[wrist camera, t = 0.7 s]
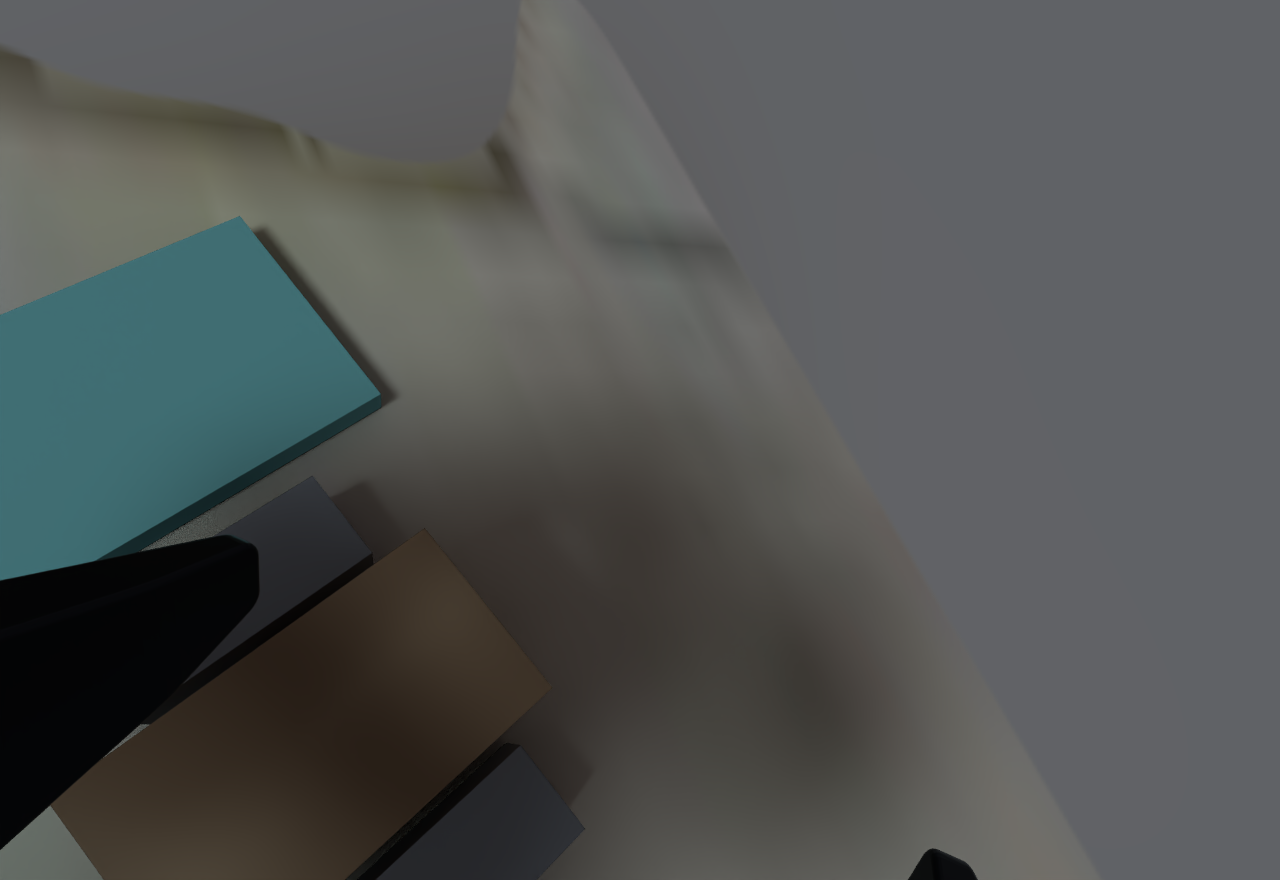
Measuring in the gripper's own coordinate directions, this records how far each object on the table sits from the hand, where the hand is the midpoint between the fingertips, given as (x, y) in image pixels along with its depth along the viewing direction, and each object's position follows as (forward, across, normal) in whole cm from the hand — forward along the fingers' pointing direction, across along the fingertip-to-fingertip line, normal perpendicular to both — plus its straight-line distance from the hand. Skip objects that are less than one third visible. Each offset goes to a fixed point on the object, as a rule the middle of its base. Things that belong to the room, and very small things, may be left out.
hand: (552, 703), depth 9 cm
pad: (+6, +16, +4) cm, 17 cm away
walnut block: (+5, +7, +10) cm, 13 cm away
